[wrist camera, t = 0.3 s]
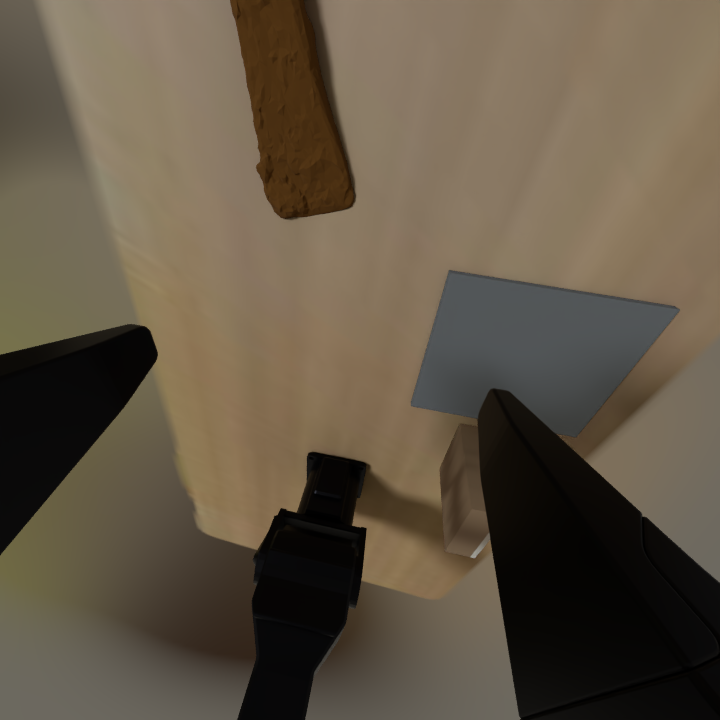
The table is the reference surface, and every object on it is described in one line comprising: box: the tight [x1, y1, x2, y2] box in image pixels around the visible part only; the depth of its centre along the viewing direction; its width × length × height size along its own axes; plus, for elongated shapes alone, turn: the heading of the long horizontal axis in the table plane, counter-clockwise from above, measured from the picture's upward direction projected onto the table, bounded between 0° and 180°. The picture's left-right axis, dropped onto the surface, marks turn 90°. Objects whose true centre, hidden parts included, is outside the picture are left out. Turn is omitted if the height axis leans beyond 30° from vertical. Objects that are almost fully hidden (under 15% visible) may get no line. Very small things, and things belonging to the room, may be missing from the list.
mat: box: [411, 270, 680, 437], centre depth 23 cm, size 12×14×1 cm
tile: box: [440, 424, 490, 558], centre depth 26 cm, size 7×2×8 cm, turn 174°
